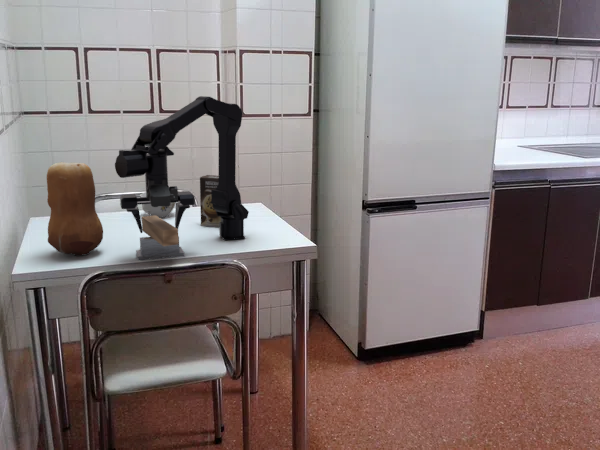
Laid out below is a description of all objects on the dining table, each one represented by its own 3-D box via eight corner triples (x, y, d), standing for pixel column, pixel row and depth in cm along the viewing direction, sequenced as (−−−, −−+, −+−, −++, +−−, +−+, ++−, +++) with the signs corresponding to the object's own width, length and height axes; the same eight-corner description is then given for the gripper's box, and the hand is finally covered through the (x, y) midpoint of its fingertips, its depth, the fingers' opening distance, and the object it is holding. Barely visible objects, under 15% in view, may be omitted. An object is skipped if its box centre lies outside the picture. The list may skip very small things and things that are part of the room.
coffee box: (200, 226, 187) (198, 177, 183) (207, 221, 193) (206, 174, 189) (226, 228, 185) (225, 178, 181) (233, 223, 191) (232, 175, 187)
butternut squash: (89, 244, 164) (83, 157, 158) (113, 254, 155) (107, 162, 149) (40, 253, 154) (31, 161, 149) (63, 264, 145) (54, 167, 140)
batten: (156, 229, 162) (155, 215, 161) (178, 244, 147) (178, 229, 146) (142, 230, 160) (141, 216, 159) (163, 246, 145) (162, 231, 144)
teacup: (156, 210, 208) (155, 189, 206) (185, 214, 203) (184, 192, 201) (128, 219, 195) (127, 196, 193) (158, 223, 190) (156, 199, 188)
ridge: (180, 250, 160) (180, 232, 158) (184, 256, 154) (183, 238, 153) (136, 254, 155) (135, 236, 154) (138, 260, 150) (137, 241, 149)
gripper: (121, 180, 139) (125, 242, 143) (197, 176, 145) (199, 236, 149) (118, 173, 149) (121, 231, 153) (190, 170, 156) (191, 226, 159)
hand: (159, 231), depth 153 cm, fingers open, 9 cm apart
